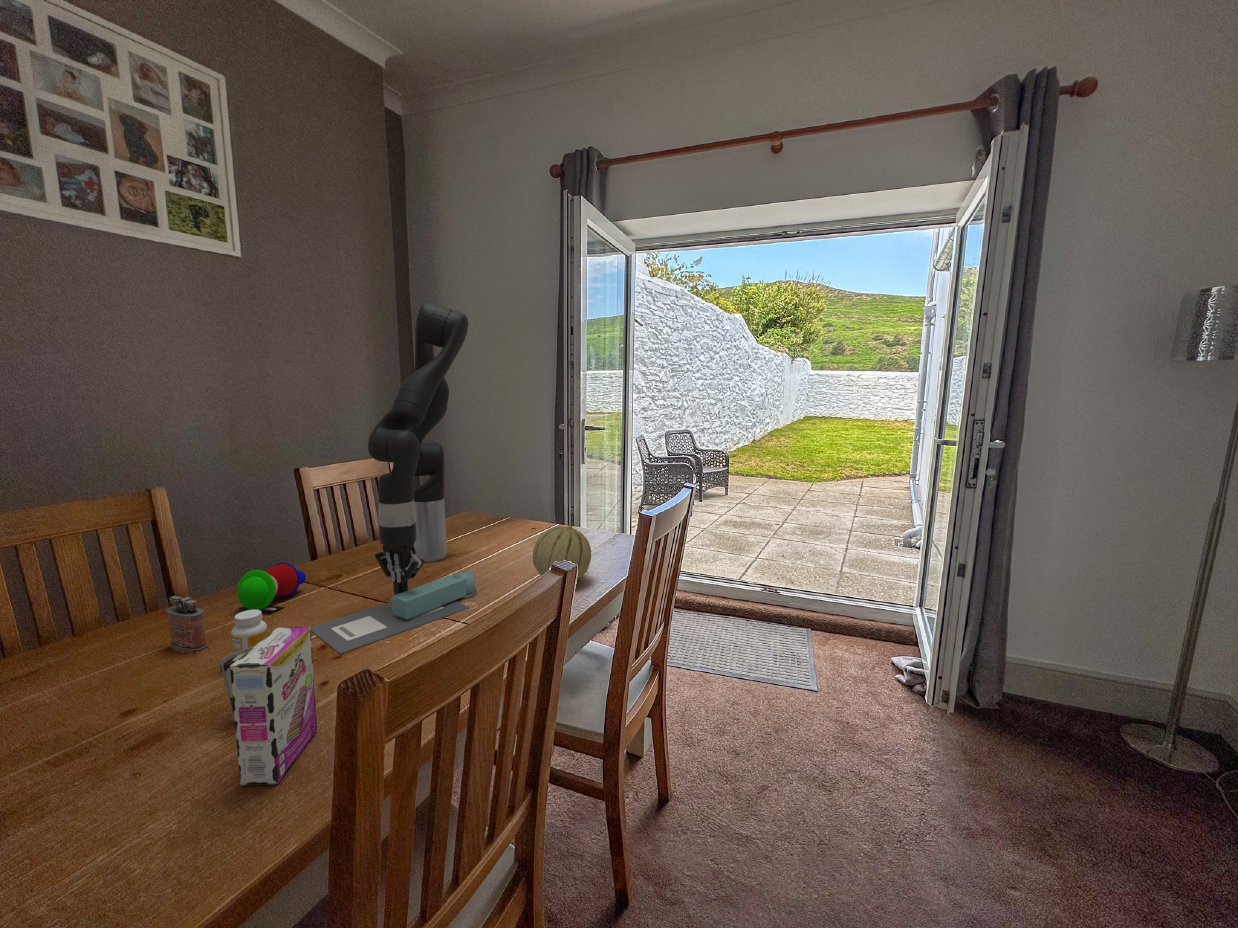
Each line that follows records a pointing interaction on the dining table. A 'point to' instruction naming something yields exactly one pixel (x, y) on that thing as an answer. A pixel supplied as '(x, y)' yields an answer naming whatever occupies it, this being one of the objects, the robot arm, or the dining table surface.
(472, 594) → the pivot base
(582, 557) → the cantaloupe
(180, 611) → the lighter
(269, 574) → the toy figure
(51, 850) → the dining table surface
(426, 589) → the block
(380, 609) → the label panel
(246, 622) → the supplement bottle
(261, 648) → the candy bar box
